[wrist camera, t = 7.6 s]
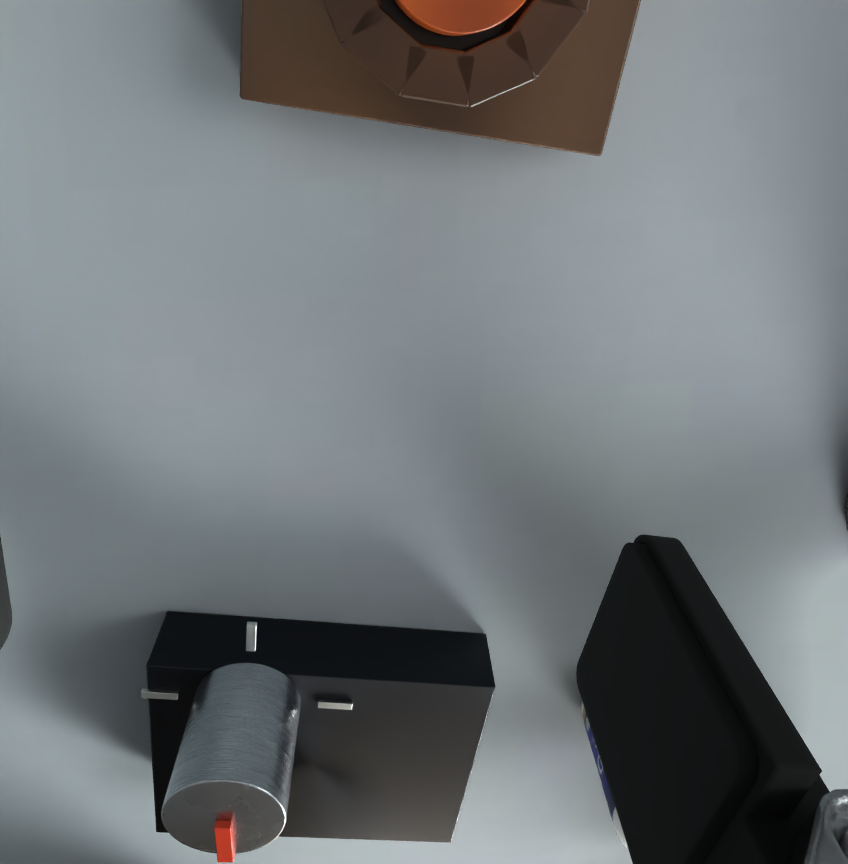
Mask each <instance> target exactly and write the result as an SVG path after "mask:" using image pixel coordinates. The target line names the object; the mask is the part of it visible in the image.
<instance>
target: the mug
mask: <svg viewBox="0 0 848 864" xmlns="http://www.w3.org/2000/svg"><path fill="white" fill-rule="evenodd" d="M845 513H846V522H847V530H848V495H847V499H846V504H845Z"/></svg>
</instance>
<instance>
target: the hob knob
mask: <svg viewBox="0 0 848 864" xmlns="http://www.w3.org/2000/svg"><path fill="white" fill-rule="evenodd" d="M300 706H301V696H300V693H299V690H298V688H297V686H296V685H295V683H294V682H293V681H292V680H291V679H290V678H289V677H288V676H286V675H285V674H284V673H282V672H280V671H278V670H276V669H274V668H272V667H269V666H265V665H261V664H256V663H236V664H230V665H226V666H223V667H220V668H218V669H216V670H214V671H212V672H210V673H209V674H208V675H207V676H205V677H204V679H203V680H202V681H201V682H200V684H199V685H198V688H197V690H196V694H195V697H194V700H193V704H192V707H191V711H190V714H189V717H188V721H187V724H186V728H185V731H184V735H183V738H182V741H181V745H180V748H179V752H178V755H177V758H176V762H175V765H174V769H173V772H172V775H171V779H170V782H169V786H168V789H167V792H166V796H165V799H164V803H163V806H162V811H161V818H162V822H163V825H164V826H165V828H166V830H167V831H168V832H169V833H170V834H171V835H172V836H173V837H174V838H175V839H176V840H178V841H179V842H181V843H183V844H185V845H187V846H189V847H192V848H194V849H197V850H201V851H205V852H210V853H217V860H218V862H234V857H235V853H243V852H248V851H252V850H255V849H258V848H261V847H263V846H265V845H267V844H269V843H270V842H272V841H273V840H275V839H276V838H277V837H278V836H279V835H280V833H281V832H282V830H283V828H284V826H285V823H286V817H287V809H288V801H289V793H290V785H291V777H292V770H293V762H294V754H295V746H296V738H297V730H298V722H299V714H300Z"/></svg>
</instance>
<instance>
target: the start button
mask: <svg viewBox="0 0 848 864" xmlns="http://www.w3.org/2000/svg"><path fill="white" fill-rule="evenodd" d="M394 1H395V2H396V4H397V5H398V6H399V8H400V9H401V10H402V11H403V12H404V13H405V14H406V15H407V16H408V17H409V18H410V19H411V20H412V21H414V22H415V23H416V24H418V25H419V26H421V27H423V28H424V29H427V30H429V31H431V32H434V33H438V34H441V35H448V36H464V35H468V34H473V33H477V32H482V31H484V30H487V29H490V28H493V27H494V26H496V25H498V24H500V23H502V22H503V21H505V20H506V19H508V18H509V17H510V16H512V15H513V14H514V13H515V12H516V11H517V10H518V9H519V8H520V7H521V6H522V5H523V4H524V2H525V1H526V0H394Z"/></svg>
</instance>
